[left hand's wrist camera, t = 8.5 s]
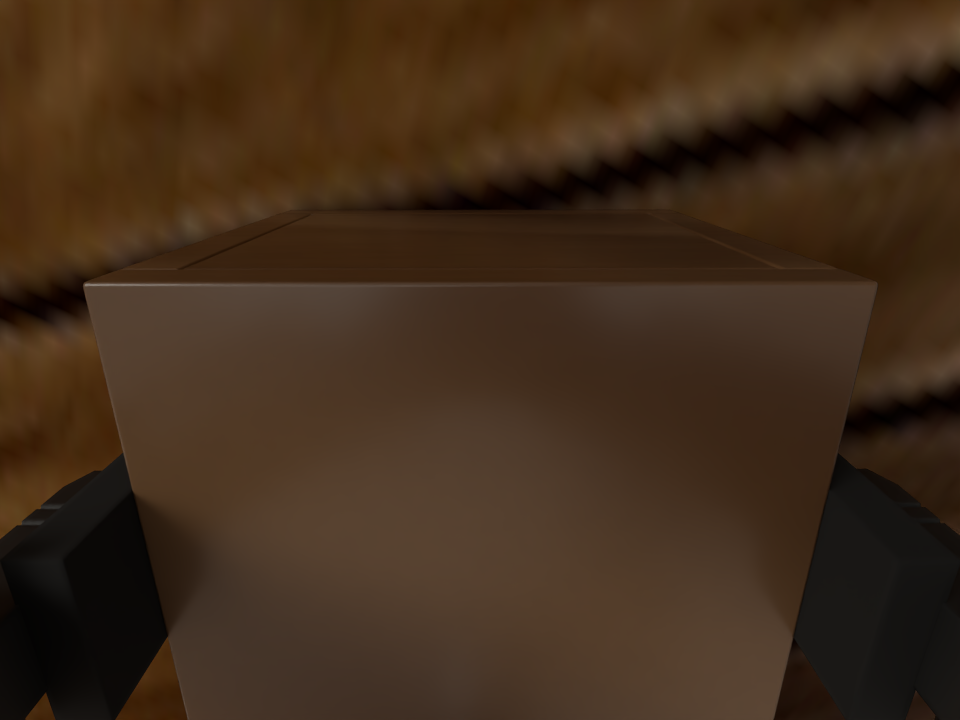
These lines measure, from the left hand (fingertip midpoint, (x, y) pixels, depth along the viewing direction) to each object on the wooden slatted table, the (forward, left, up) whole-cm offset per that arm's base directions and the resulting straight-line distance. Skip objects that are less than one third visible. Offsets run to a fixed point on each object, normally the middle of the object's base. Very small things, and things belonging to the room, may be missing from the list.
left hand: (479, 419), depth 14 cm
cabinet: (+1, +6, -3) cm, 7 cm away
